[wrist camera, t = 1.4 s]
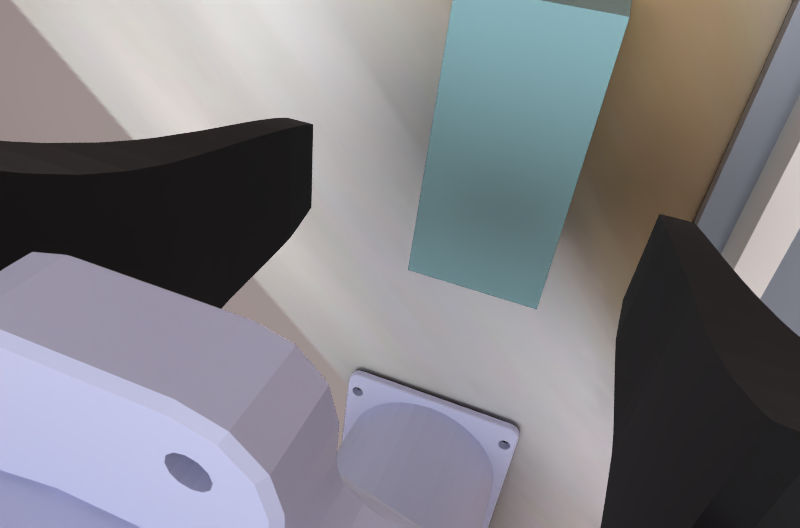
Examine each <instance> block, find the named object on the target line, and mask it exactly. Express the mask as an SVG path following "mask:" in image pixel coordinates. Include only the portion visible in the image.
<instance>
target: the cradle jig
mask: <svg viewBox="0 0 800 528" xmlns="http://www.w3.org/2000/svg"><path fill="white" fill-rule="evenodd" d="M694 224H696V225H697V226H698V227H699V229H700V230H701V231H702V232H703V233H704V234H705V235H706V237H707V238H708V239H709V240H710V242H711V243H712V244H713V245H714V247H715V248H716V249H717V250H718V251H719V253H720V254H721V255H722V256H723V258H724V259H725V260H726V261H727V262H728V264H729V265H730V266H731V267H732V268H733V270H734V271H735V272H736V273H737V274H738V276H739V277H740V278H741V279H742V280H743V281H744V282H745V284H746V285H747V286H748V287H749V288H750V289H751V290H752V291H753V292H754V293H755V295H756V296H757V297H758V298H759V299H760V300H761V301H762V302H763V303H764V304H765V305H766V306H767V307H768V308H769V309H770V310H771V311H772V312H773V313H774V314H775V315H776V316H777V317H778V318H779V319H780V320H781V321H782V322H783V323H785V324H786V325H787V326H788V327H789V328H790V329H791V330H792V331H793V332H795V333H796V334H797V335H798V336H799V337H800V0H793V3H792V5H791V7H790V9H789V12H788V14H787V16H786V18H785V20H784V23H783V25H782V27H781V29H780V32H779V34H778V36H777V38H776V40H775V43H774V45H773V47H772V49H771V52H770V54H769V56H768V58H767V61H766V63H765V65H764V67H763V69H762V72H761V74H760V76H759V78H758V81H757V83H756V85H755V87H754V89H753V92H752V94H751V96H750V98H749V101H748V103H747V105H746V107H745V109H744V112H743V114H742V116H741V118H740V121H739V123H738V125H737V127H736V129H735V132H734V134H733V136H732V138H731V141H730V143H729V145H728V147H727V150H726V152H725V154H724V156H723V158H722V161H721V163H720V165H719V167H718V170H717V172H716V174H715V176H714V178H713V181H712V183H711V185H710V187H709V190H708V192H707V194H706V196H705V198H704V201H703V203H702V205H701V207H700V210H699V212H698V214H697V216H696V218H695V221H694Z"/></svg>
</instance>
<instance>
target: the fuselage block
mask: <svg viewBox="0 0 800 528" xmlns="http://www.w3.org/2000/svg"><path fill="white" fill-rule="evenodd" d="M631 3H632V0H453V2H452V8H451V14H450V20H449V26H448V32H447V38H446V44H445V50H444V56H443V62H442V68H441V74H440V80H439V86H438V92H437V98H436V104H435V110H434V116H433V122H432V128H431V134H430V140H429V146H428V152H427V158H426V165H425V171H424V177H423V183H422V189H421V195H420V201H419V207H418V213H417V219H416V225H415V231H414V237H413V243H412V249H411V255H410V261H409V267H408V270H410V271H414V272H417V273H420V274H423V275H427V276H430V277H433V278H436V279H440V280H443V281H446V282H449V283H453V284H456V285H459V286H462V287H466V288H469V289H472V290H475V291H479V292H482V293H485V294H488V295H492V296H495V297H498V298H501V299H505V300H508V301H511V302H514V303H518V304H521V305H524V306H527V307H531V308H534V309H537V307H538V304H539V300H540V297H541V294H542V291H543V288H544V285H545V282H546V278H547V275H548V272H549V269H550V266H551V263H552V260H553V256H554V253H555V250H556V247H557V244H558V241H559V238H560V234H561V231H562V228H563V225H564V222H565V219H566V216H567V212H568V209H569V206H570V203H571V200H572V197H573V193H574V190H575V187H576V184H577V181H578V178H579V175H580V171H581V168H582V165H583V162H584V159H585V156H586V153H587V149H588V146H589V143H590V140H591V137H592V134H593V131H594V127H595V124H596V121H597V118H598V115H599V112H600V109H601V105H602V102H603V99H604V96H605V93H606V90H607V87H608V83H609V80H610V77H611V74H612V71H613V68H614V65H615V61H616V58H617V55H618V52H619V49H620V46H621V43H622V39H623V36H624V33H625V30H626V27H627V24H628V20H629V17H630V10H631Z"/></svg>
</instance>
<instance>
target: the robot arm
mask: <svg viewBox="0 0 800 528" xmlns="http://www.w3.org/2000/svg"><path fill="white" fill-rule="evenodd" d="M312 148H313V124H309V123H305V122H302V121H298V120H294V119H290V118H273V119H265V120H258V121H252V122H246V123H240V124H235V125H230V126H224V127H219V128H213V129H208V130H203V131H196V132H190V133H183V134H177V135H171V136H164V137H158V138H149V139H140V140H129V141H115V142H100V143H30V142H9V141H0V528H488V526H489V523H490V520H491V517H492V514H493V511H494V508H495V506H496V503H497V500H498V497H499V494H500V491H501V488H502V485H503V483H504V480H505V477H506V474H507V471H508V468H509V465H510V462H511V460H512V457H513V454H514V451H515V448H516V445H517V442H518V439H519V430H518V428H517V427H516V426H514V425H512V424H510V423H507V422H505V421H502V420H499V419H496V418H493V417H490V416H488V415H485V414H482V413H479V412H476V411H474V410H471V409H468V408H465V407H462V406H459V405H457V404H454V403H451V402H448V401H445V400H443V399H440V398H437V397H434V396H431V395H428V394H426V393H423V392H420V391H417V390H414V389H412V388H409V387H406V386H403V385H400V384H397V383H395V382H392V381H389V380H386V379H383V378H381V377H378V376H375V375H372V374H369V373H366V372H364V371H359V370H358V371H355V372H353V373H352V375H351V377H350V379H349V385H348V394H347V403H346V412H345V420H344V428H343V438H342V445H341V446H340V448H339V450H338V452H337V443H338V429H339V422H338V418H337V414H336V410H335V406H334V403H333V399H332V395H331V391H330V388H329V385H328V383H327V381H326V379H325V378H324V377H323V376H322V374H321V373H320V372H319V371H318V370H317V369H316V368H315V366H314V365H313V364H312V363H311V361H310V360H309V359H308V358H307V357H306V356H305V355H304V353H303V352H302V351H301V350H300V349H299V347H298V346H297V345H296V344H294V343H293V342H291V341H289V340H287V339H286V338H284V337H282V336H280V335H279V334H277V333H275V332H273V331H272V330H270V329H268V328H267V327H265V326H263V325H261V324H260V323H258V322H256V321H254V320H251V319H248V318H245V317H242V316H240V315H237V314H234V313H231V312H228V311H226V310H223V309H221V308H222V307H223V306H224V305H225V304H226V302H228V300H229V299H230V298H231V297H232V296H233V295H234V294H235V293H236V292H237V291H238V290H239V289H240V288H241V287H242V286H243V285H244V284H245V283H246V282H247V281H248V280H249V279H250V278H251V277H252V276H253V275H254V274H255V273H256V272H257V271H258V270H259V269H260V268H261V267H262V266H263V265H264V264H265V263H266V262H267V261H268V260H269V259H270V258H271V257H272V256H273V255H274V254H275V253H276V252H277V251H278V250H279V249H280V248H281V247H282V246H283V245H284V244H285V243H286V242H287V240H288V239H289V238H290V237H291V236H292V234H293V233H294V232H295V230H296V229H297V228H298V226H299V225H300V223H301V222H302V220H303V219H304V217H305V216H306V214H307V213H308V211H309V210H310V208H311V196H312ZM357 387H358V388H360V389H361V390H362V391H360V390H359V389H357ZM502 440H503V441H506V442H508V443H504V442H502ZM601 528H800V337H799V336H798V335H797V334H796V333H795V332H793V331H792V330H791V329H790V328H789V327H788V326H787V325H786V324H785V323H783V322H782V321H781V320H780V319H779V318H778V317H777V316H776V315H775V314H774V313H773V312H772V311H771V310H770V309H769V308H768V307H767V306H766V305H765V304H764V303H763V302H762V301H761V300H760V299H759V298H758V297H757V296H756V295H755V293H754V292H753V291H752V290H751V289H750V288H749V287H748V286H747V285H746V284H745V282H744V281H743V280H742V279H741V278H740V277H739V276H738V274H737V273H736V272H735V271H734V270H733V268H732V267H731V266H730V265H729V264H728V262H727V261H726V260H725V259H724V258H723V256H722V255H721V254H720V253H719V251H718V250H717V249H716V248H715V247H714V245H713V244H712V243H711V242H710V240H709V239H708V238H707V237H706V235H705V234H704V233H703V232H702V231H701V230H700V229H699V227H698V226H697V225H696V224H694V223H692V222H688V221H684V220H680V219H677V218H673V217H669V216H665V215H661V214H659V217H658V219H657V221H656V224H655V226H654V228H653V231H652V233H651V235H650V238H649V240H648V242H647V245H646V247H645V249H644V252H643V254H642V257H641V259H640V261H639V264H638V266H637V268H636V271H635V273H634V275H633V278H632V280H631V282H630V285H629V287H628V289H627V292H626V294H625V296H624V299H623V303H622V309H621V314H620V319H619V325H618V331H617V337H616V351H615V390H614V434H613V447H612V457H611V464H610V471H609V478H608V485H607V491H606V498H605V504H604V510H603V517H602V523H601Z"/></svg>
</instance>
